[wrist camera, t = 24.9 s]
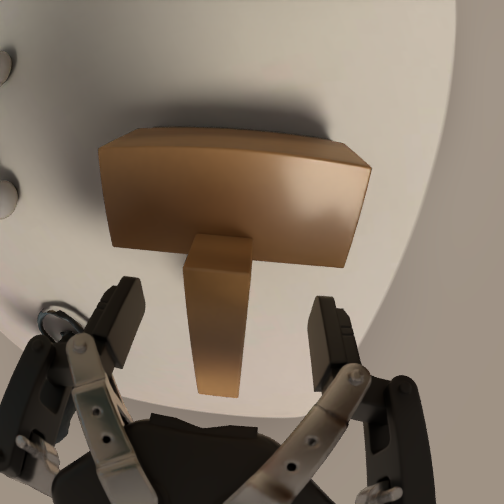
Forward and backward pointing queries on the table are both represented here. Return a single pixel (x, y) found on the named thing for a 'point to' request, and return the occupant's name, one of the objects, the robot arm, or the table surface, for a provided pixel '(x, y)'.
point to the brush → (230, 219)
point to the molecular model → (3, 192)
